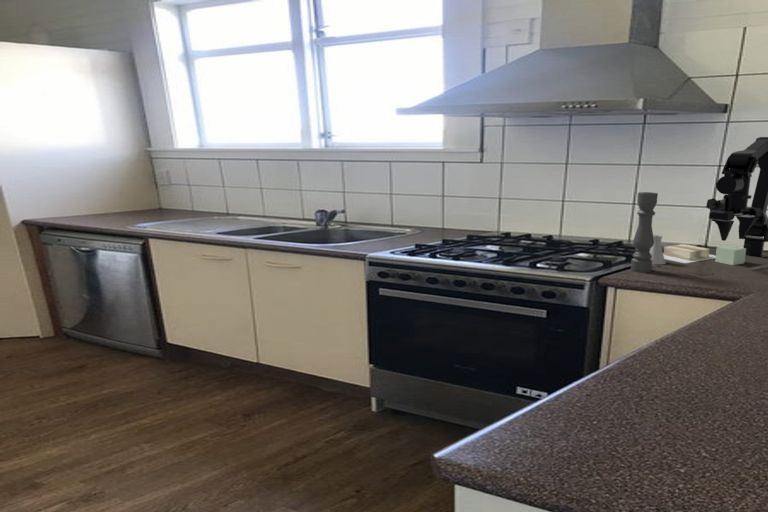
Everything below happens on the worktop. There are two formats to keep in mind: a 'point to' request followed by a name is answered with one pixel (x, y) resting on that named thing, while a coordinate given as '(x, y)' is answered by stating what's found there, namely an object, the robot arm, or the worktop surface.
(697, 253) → the birch plinth
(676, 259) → the pale blue-grey board
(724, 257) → the sage cube
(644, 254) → the candle holder
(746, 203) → the robot arm
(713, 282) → the worktop surface
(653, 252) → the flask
